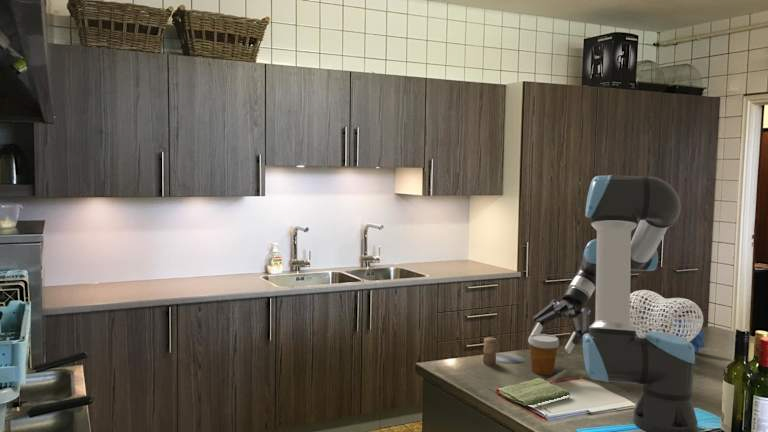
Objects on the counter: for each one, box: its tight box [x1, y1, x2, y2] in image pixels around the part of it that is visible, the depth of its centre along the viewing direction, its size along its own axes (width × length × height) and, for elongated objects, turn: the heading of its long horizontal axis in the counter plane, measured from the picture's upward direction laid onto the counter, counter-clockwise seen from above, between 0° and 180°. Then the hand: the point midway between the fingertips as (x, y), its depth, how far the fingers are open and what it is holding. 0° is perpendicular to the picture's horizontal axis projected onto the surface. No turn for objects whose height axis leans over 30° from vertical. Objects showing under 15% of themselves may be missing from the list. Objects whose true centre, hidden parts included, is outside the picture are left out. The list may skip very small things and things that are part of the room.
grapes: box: [672, 319, 706, 354], centre depth 234 cm, size 12×7×12 cm, turn 45°
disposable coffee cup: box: [527, 333, 560, 379], centre depth 204 cm, size 10×10×12 cm
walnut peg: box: [482, 336, 498, 366], centre depth 211 cm, size 4×4×8 cm
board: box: [481, 353, 527, 367], centre depth 215 cm, size 20×12×1 cm, turn 140°
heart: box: [630, 289, 704, 342], centre depth 226 cm, size 28×16×22 cm, turn 29°
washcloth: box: [497, 377, 571, 407], centre depth 186 cm, size 13×18×3 cm
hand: (548, 346), depth 207 cm, fingers open, 13 cm apart
